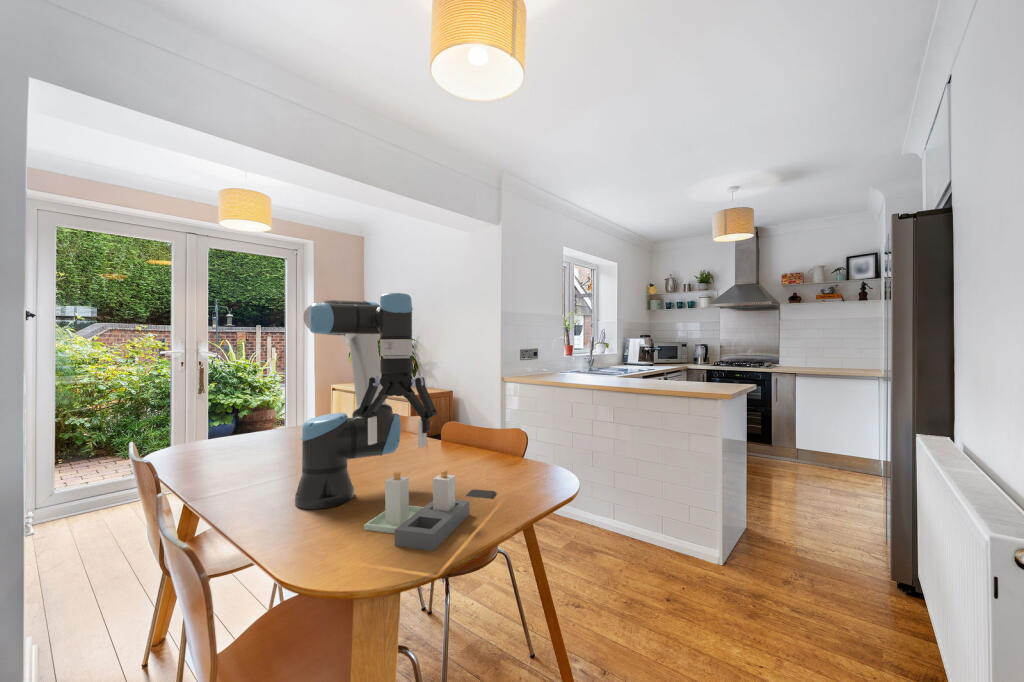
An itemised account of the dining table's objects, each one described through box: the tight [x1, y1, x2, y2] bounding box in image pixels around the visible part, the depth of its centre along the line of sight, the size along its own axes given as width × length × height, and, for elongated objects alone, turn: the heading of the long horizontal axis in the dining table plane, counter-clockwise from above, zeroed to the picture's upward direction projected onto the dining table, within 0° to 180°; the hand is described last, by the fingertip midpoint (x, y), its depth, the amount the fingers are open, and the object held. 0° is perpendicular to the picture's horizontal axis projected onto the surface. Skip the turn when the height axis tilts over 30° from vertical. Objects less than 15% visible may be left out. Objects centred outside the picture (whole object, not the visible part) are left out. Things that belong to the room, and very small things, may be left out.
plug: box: [384, 471, 410, 525], centre depth 106 cm, size 4×4×12 cm
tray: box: [363, 505, 424, 535], centre depth 106 cm, size 9×13×2 cm
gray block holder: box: [394, 469, 470, 552], centre depth 101 cm, size 9×20×12 cm, turn 164°
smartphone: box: [465, 489, 497, 500], centre depth 120 cm, size 8×1×16 cm
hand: (397, 445), depth 106 cm, fingers open, 13 cm apart
